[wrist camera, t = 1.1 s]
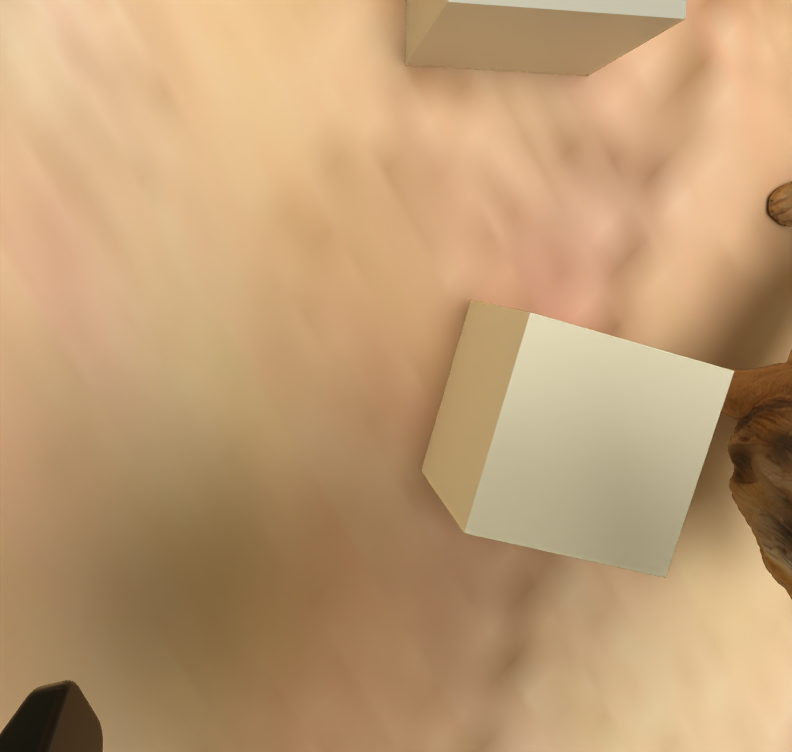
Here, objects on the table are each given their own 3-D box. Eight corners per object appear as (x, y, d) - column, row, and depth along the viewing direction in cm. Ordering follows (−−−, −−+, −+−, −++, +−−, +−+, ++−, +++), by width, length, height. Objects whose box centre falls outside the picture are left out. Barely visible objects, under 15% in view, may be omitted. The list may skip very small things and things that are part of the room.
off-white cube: (579, 507, 22) (665, 577, 17) (420, 470, 21) (464, 533, 16) (631, 345, 22) (734, 371, 17) (470, 299, 21) (530, 312, 16)
